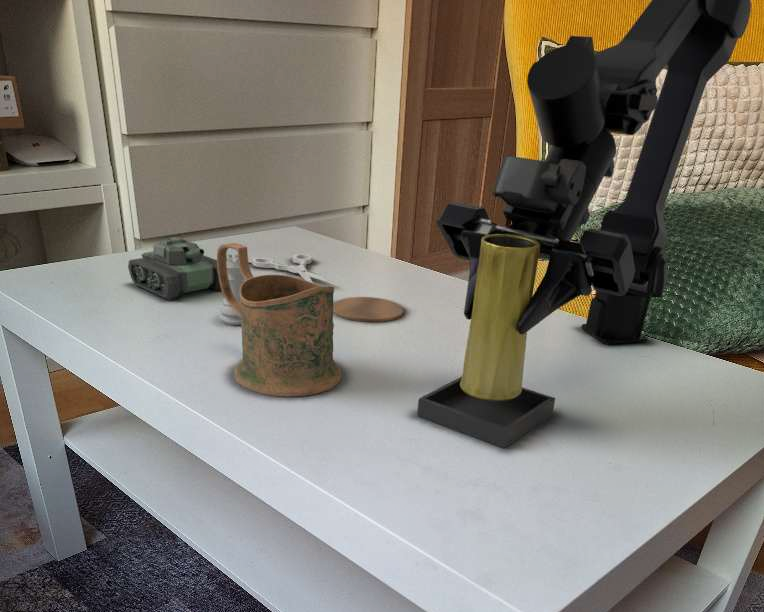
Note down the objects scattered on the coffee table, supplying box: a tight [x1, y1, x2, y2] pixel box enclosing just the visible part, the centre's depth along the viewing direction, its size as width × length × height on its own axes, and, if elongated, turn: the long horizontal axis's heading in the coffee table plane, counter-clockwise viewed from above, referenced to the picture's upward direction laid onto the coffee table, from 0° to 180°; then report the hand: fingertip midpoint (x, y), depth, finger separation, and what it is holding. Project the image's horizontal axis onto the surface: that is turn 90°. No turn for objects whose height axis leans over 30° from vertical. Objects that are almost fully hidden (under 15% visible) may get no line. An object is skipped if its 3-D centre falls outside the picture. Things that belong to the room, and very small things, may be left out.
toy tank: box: [127, 236, 222, 301], centre depth 103 cm, size 10×12×7 cm
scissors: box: [248, 253, 340, 287], centre depth 113 cm, size 11×1×20 cm
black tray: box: [416, 376, 556, 449], centre depth 74 cm, size 10×10×2 cm
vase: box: [460, 234, 540, 401], centre depth 69 cm, size 6×6×14 cm
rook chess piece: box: [219, 253, 245, 326], centre depth 92 cm, size 4×4×8 cm
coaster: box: [333, 296, 404, 323], centre depth 101 cm, size 10×10×1 cm
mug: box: [216, 242, 342, 397], centre depth 79 cm, size 12×18×12 cm, turn 44°
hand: (492, 324), depth 68 cm, fingers closed on vase, 5 cm apart
